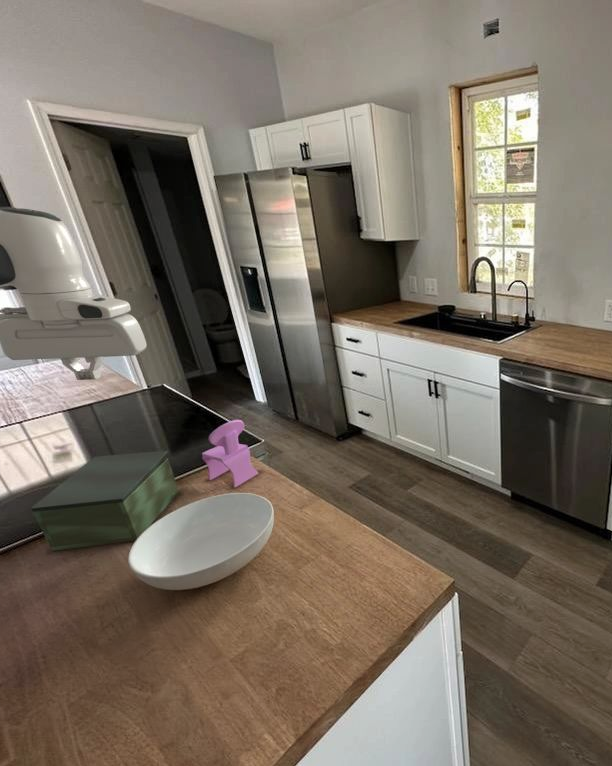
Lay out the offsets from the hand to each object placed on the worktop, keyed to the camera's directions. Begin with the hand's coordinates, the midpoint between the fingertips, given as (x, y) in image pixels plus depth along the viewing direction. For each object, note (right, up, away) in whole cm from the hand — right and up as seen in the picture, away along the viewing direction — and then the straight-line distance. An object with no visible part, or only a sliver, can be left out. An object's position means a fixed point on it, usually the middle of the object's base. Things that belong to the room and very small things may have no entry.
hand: (89, 378), depth 78 cm
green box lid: (0, -20, +3) cm, 20 cm away
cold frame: (0, -29, +6) cm, 29 cm away
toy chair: (+14, -23, +20) cm, 34 cm away
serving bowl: (+26, -33, -3) cm, 43 cm away
